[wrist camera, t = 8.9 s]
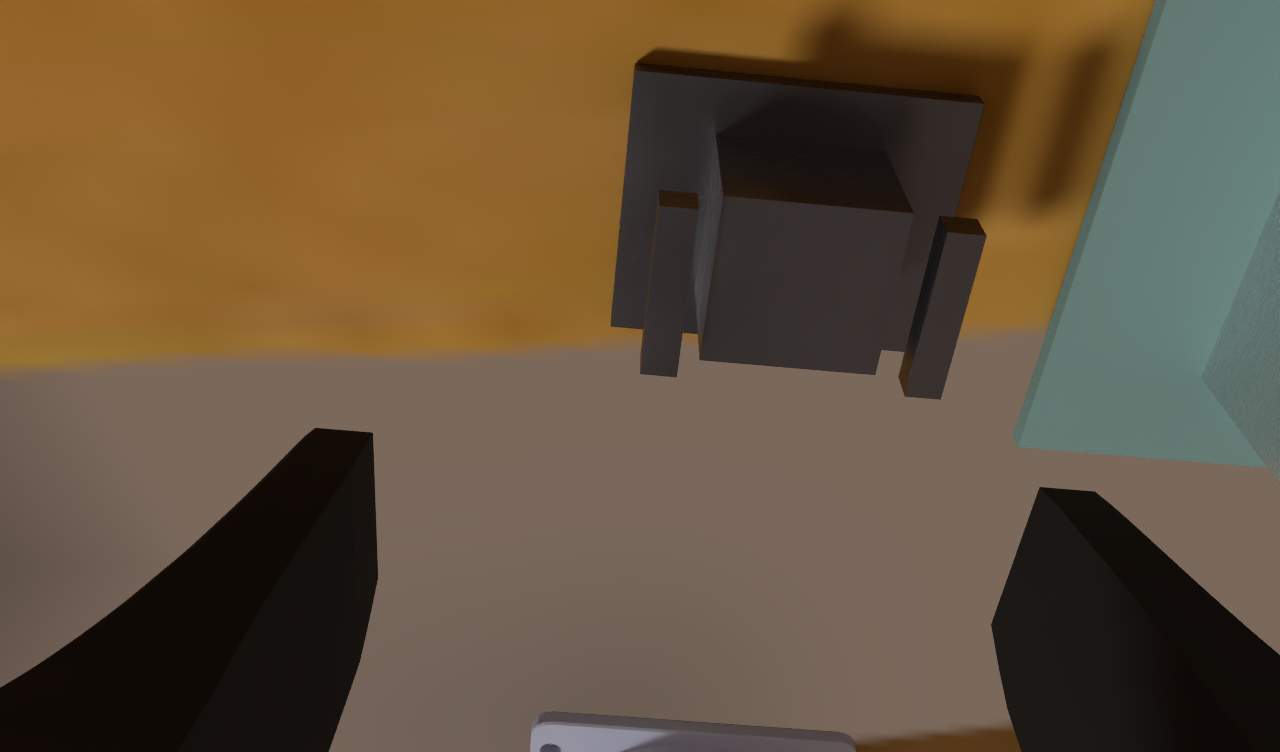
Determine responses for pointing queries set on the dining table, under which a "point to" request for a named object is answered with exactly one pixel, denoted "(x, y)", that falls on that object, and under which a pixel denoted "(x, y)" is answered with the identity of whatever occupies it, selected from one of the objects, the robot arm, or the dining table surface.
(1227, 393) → the rail
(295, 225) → the dining table surface
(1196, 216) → the mat
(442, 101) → the dining table surface
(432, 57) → the dining table surface
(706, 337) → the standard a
